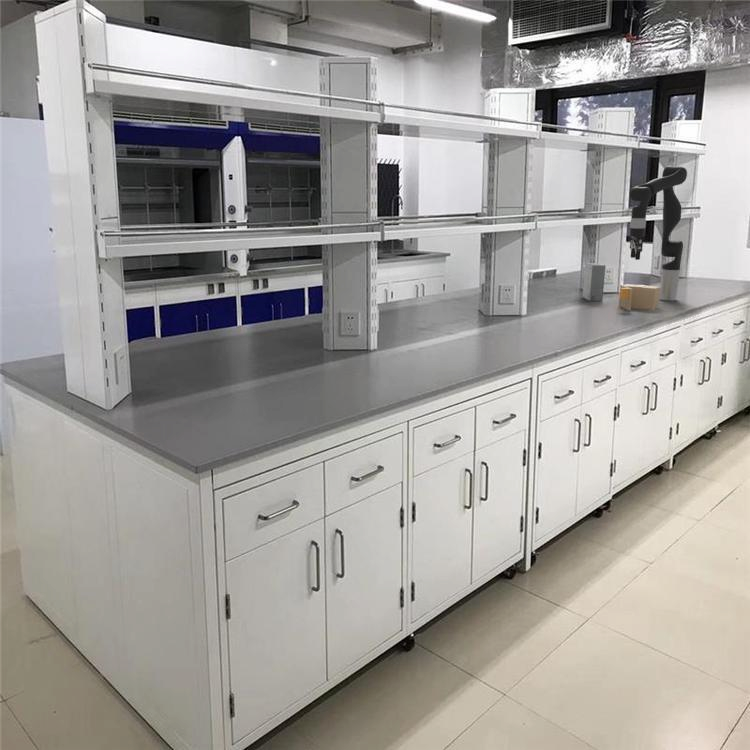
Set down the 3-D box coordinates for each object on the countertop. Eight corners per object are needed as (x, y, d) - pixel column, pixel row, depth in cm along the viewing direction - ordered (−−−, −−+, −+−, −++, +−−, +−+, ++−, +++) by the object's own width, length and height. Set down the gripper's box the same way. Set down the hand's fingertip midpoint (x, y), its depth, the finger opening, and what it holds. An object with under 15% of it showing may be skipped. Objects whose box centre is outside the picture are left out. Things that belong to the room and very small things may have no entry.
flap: (620, 305, 382) (622, 285, 380) (630, 310, 367) (632, 289, 364) (611, 305, 382) (612, 284, 380) (620, 310, 367) (622, 289, 364)
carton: (625, 304, 391) (627, 283, 388) (658, 307, 380) (660, 286, 377) (619, 306, 384) (620, 285, 381) (653, 309, 373) (655, 288, 370)
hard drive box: (602, 301, 400) (605, 265, 395) (589, 301, 400) (592, 265, 395) (595, 297, 415) (598, 262, 410) (581, 297, 415) (584, 262, 410)
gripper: (649, 228, 361) (646, 260, 365) (641, 225, 374) (638, 256, 379) (634, 228, 361) (631, 260, 366) (626, 225, 375) (624, 257, 379)
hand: (635, 258), depth 372 cm, fingers open, 8 cm apart
